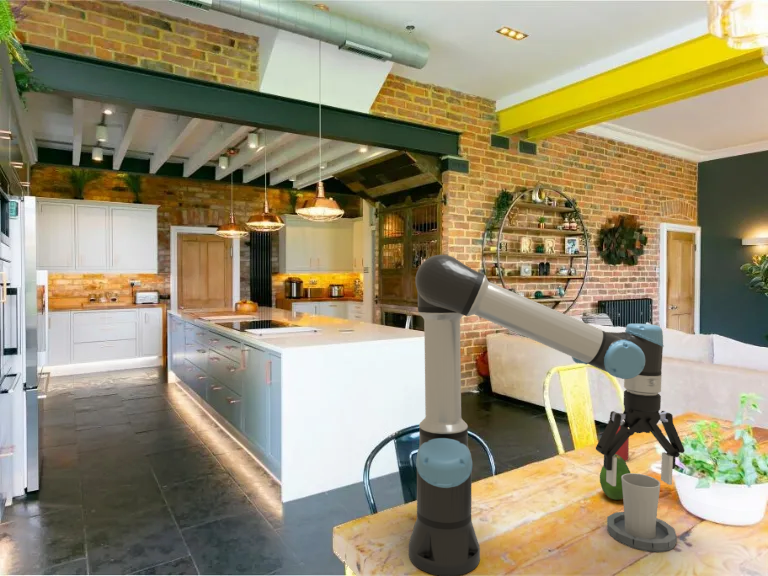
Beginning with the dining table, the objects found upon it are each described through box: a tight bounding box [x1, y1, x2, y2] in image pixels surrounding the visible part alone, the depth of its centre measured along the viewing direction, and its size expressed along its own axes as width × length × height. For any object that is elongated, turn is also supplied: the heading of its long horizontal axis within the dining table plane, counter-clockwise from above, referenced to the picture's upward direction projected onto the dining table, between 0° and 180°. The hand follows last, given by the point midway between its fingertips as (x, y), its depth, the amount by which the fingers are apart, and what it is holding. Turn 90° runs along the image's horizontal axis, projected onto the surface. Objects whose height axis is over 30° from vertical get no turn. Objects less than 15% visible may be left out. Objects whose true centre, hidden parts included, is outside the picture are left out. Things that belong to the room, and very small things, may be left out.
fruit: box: [599, 454, 631, 501], centre depth 131 cm, size 8×8×12 cm
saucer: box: [606, 511, 678, 553], centre depth 113 cm, size 14×14×2 cm
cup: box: [621, 472, 661, 539], centre depth 113 cm, size 8×8×12 cm
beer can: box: [607, 420, 630, 462], centre depth 160 cm, size 7×7×12 cm
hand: (638, 483), depth 113 cm, fingers open, 13 cm apart
